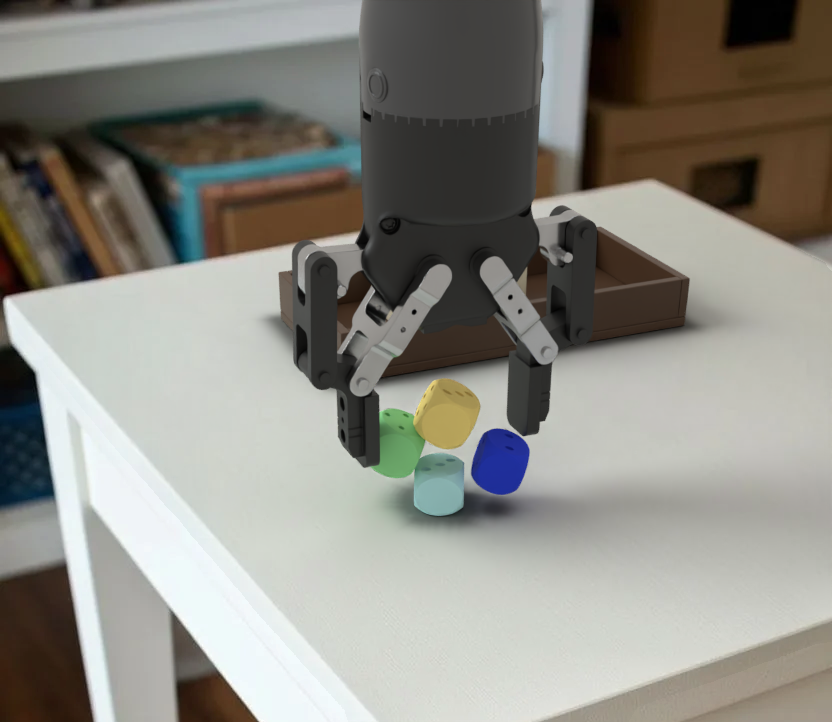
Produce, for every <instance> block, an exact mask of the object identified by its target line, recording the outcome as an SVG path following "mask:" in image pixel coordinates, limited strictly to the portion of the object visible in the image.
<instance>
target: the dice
mask: <svg viewBox="0 0 832 722" xmlns="http://www.w3.org/2000/svg"><path fill="white" fill-rule="evenodd" d="M481 406H482V405H481V402H480V399H479V398H478V396H477V395H476V394H475V393H474V391H472V390H471V389H470V388H468V387H467V386H466V385H465V384H463V383H462V382H459V381H457V380H455V379H451V378H447V377H443V378H437V379H434V380H432V381H431V382H430V384H429V385H428V387H427V388H426V390H425V391H424V393H423V394H422V397H421V399H420V401H419V402H418V406H417V408H416V411H415V414H412V413H410V412H408V411H405V410H403V409H401V408H391V407H390V408H386V409H382V410H381V411H379V417H380V463H379V465H377V466H372V467H370V469H372V470H373V471H375V472H376V473H377V474H380V475H382V476H384V477H386V478H390V479H404V478H406V477H408V476H411V475H412V474H413V472H414V476H413V505H414V507H415V508H416V509H417V510H419V511H420V512H422V513H424V514H426V515H429V516H435V517H437V516H438V517H444V516H449V515H452V514H455V513H458V511H460V510H461V509H462V508H464V502H465V501H464V499H465V461H463V459H461V458H459V457H458V456H457V455H453V454H452V453H445V452H434V453H428V454H425V455H423V456H422V453H423V450H424V448H425V444H426V443H428V444H430V445H432V446H434V447H436V448H439V449H442V450H455V449H458V448H460V447H462V446H463V445H464V444H465V443H466V441H467V440H468V438H469V437H470V435H471V434H472V431H473V429H474V427H475V426H476V423H477V421H478V418H479V415H480V412H481V408H482V407H481ZM530 450H531V449H530V447H529V445H528V442H526V441H525V439H524V438H522V437H521V435H520V434H518V433H515V432H513V431H512V430H508V429H505V428H500V427H499V428H498V427H497V428H491V429H489V430H487V431H485V432H483V433H482V435H481V436H480V439H479V441H478V443H477V445H476V448H475V451H474V454H473V458H472V463H471V468H470V476H471V479H472V480H473V481H474V483H475V484H476V485H477V486H478V487H480V488H481V489H482V490H484V491H485V492H488V493H490V494H493V495H496V496H505V495H511V494H512V493H514V492H517V491H518V489H519V488H520V486H521V484H522V483H523V480H524V477H525V475H526V473H527V470H528V465H529V462H530V454H531V451H530Z"/></svg>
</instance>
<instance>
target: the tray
mask: <svg viewBox="0 0 832 722" xmlns="http://www.w3.org/2000/svg"><path fill="white" fill-rule="evenodd" d="M596 227H597V246H596V268H595V290H594V312H593V332H592V336H591V338H590V340H589V341H588V342H587V343H589V342H595V341H601V340H607V339H613V338H617V337H618V338H619V337H624V336H629V335H635V334H642V333H647V332H653V331H659V330H665V329H669V328H670V329H671V328H678V327H683V326H685V324H686V316H687V308H688V299H689V291H690V290H689V288H690V280H691V278H690V277H688V276H687V275H685V274H683V273H681V272H680V271H678V270H676V269H675V268H673V267H671V266H669V265H668V264H666V263H665V262H662V261H661V260H660V259H657V258H656V257H654V256H652V255H650V254H649V253H647V252H646V251H644V250H642V249H640V248H639V247H637V246H635V245H633V243H630V242H628V241H626V240H625V239H623V238H622V237H620V236H618V235H616V234H614V233H613V232H611V231H609V230H608V229H606V228H604V227H602V226H596ZM370 288H371V284H370V283H369V282H368V281H367V279H366V278H365V277H364V275H363V274H362V273H361V272H360V271H359V272H357V273H355V274H354V275H353V276H352V277H351V279H350V282H349V287H348V290H347V293H346V294H345V295H344V296H343V297H341V298H339V299H337V352H338V350H339V348H340V347H341V345H342V343H343V342H344V340H345V339H346V337H347V335H348V334H349V332H350V330H351V328H352V319H353V316H354V314H355V312H356V310H357V309H358V307H359V306H360V304H361V302H362V301H363V299H364V297H365V296H366V294H367V293H368V291H369V289H370ZM278 289H279V290H278V291H279V307H280V309H279V310H280V319H281V320H282V322H283V323H285V324H286V326H287V327H288V328H289V329H290V330H291V331H292V332H293V299H292V269H290V270H283V271H279V272H278ZM526 297H527V298H528V300H529V301H530V303H531V304H532V305H533V307H534V308H535V310H536V311H537V313H538V314H539V316H540V318H543V317H545V316H546V301H547V260H546V259H544V258H543V257H542V255H541V253H540V247H538V249H537V252H536V253H535V255H534V257H533V258H532V260H531V261H530V263H529V264H528V266H527V283H526ZM387 321H388V320H387V319H386V322H387ZM516 349H517V345H516V344H515V343H514V342H513V341H512V339H511V338H510V337H509V335H508V334H507V332H506V331H505V330H504V328H503V327H502V325H501V324H500V323H499V321H498V320H497V319H496V318H495V317H494V316H491V317H490V318H488V319H487V324H484V325H478V326H472V327H471V326H463V325H454V326H452V327H449V328H447V329H445V330H442V331H440V332H434V333H428V334H423V333H422V332H421V331H420V330H417V331H416V333H415V334H414V336H413V337H412V339H411V341H410V342H409V344H408V345H407V347H406V348H405V350H404V352H403V353H402V354H401V355H400V356H398V357H394V358H393V359H392V360H391V361H390V363H389V365H388V366H387V368H386V369H385V371H384V372H383V374H382V376H381V377H380V379H381V378H387V377H392V376H398V375H404V374H409V373H415V372H421V371H428V370H433V369H439V368H445V367H450V366H455V365H456V366H457V365H461V364H468V363H473V362H480V361H485V360H490V359H491V360H492V359H497V358H501V357H509V351H514V350H516Z"/></svg>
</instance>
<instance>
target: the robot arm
mask: <svg viewBox="0 0 832 722" xmlns="http://www.w3.org/2000/svg"><path fill="white" fill-rule="evenodd" d="M360 7H361V8H360V14H359V15H360V16H359V27H358V29H359V30H358V62H359V63H358V66H359V67H358V69H359V70H358V73H359V116H360V117H359V118H360V119H359V120H360V124H359V128H360V175H361V202H362V212H363V214H362V215H363V218H362V224H361V228H360V230H359V233H358V235H357V237H356V239H355V241H354V243H346V244H336V245H327V246H319V245H317V244H316V243H315V242H314V241H312V240H310V239H303V240H302V239H301V240H300V241H298V242H297V243H296V244H295V245H294V246H293V248H292V252H291V270H292V299H293V331H292V358H293V365H294V366H295V367H296V368H297V369H298V371H300V372H301V373H303V375H304V376H305V377H306V378H307V379H308V381H309V383H310V384H311V385H312V386H313V387H314V388H315V389H316V390H319V391H327V390H329V389H334V390H336V414H337V415H336V416H337V437H338V439H339V442H340V444H341V446H342V447H343V448H344V450H345V451H346V452H347V453H348V454H349V455H350V457H351V458H352V459H355V460H356V461H357V462H358V464H359V465H360V466H361V467H362V468H363V469H365V468H371V467H372V466H377V465H379V463H380V417H379V412H380V394H379V393H378V392H376V390H375V389H374V388H375V387H376V385H377V383H378V382H379V380H380V379H381V378H382V377H381V376H382V374H383V372H384V371H385V369H386V368H387V366H388V365H389V363H390V361H391V360H392V359H393V358H394V357H398V356H400V355H401V354H402V353H403V352H404V350H405V348H406V347H407V345H408V344H409V342H410V341H411V339H412V337H413V336H414V334H415V333H416V331H417V330H420V331H421V332H422V333H423V334H428V333H434V332H440V331H442V330H445V329H447V328H449V327H452V326H454V325H463V326H471V327H472V326H478V325H484V324H487V319H488V318H490V317H491V316H494V317H495V318H496V319H497V320H498V321H499V323H500V324H501V325H502V327H503V328H504V330H505V331H506V332H507V334H508V335H509V337H510V338H511V339H512V341H513V342H514V343H515V344H516V345H517V349H516V350H514V351H509V355H508V370H507V393H506V394H507V395H506V419H507V422H508V424H509V426H510V427H512V428H513V430H515V431H516V432H517V434H518V435H520V436H522V437H529V436H534V435H537V434H539V432H540V426H541V423H543V422H546V421H547V420H546V419H547V417H548V415H549V412H550V405H551V404H550V403H551V401H550V400H551V388H552V371H553V362H554V361H555V360H556V358H557V356H558V354H559V353H560V352H562V351H563V350H565V349H567V348H569V347H570V346H572V345H575V346H578V347H580V346H584V345H586V344H587V343H589V342H588V341H589V340H590V338H591V336H592V332H593V312H594V290H595V268H596V246H597V227H598V226H597V225H596V223H595V222H594V221H593V220H591V219H589V218H587V217H586V216H584V215H582V214H581V213H578V212H577V211H575V210H574V209H572V208H570V207H568V206H566V205H564V204H561V205H558V206H556V207H554V208H553V209H552V210H551V211H550V214H549V215H548V216H544V217H539V218H534V214H533V210H532V205H533V202H534V200H535V197H536V194H537V178H538V177H537V176H538V175H537V173H538V157H539V139H540V138H539V136H540V119H541V117H540V116H541V99H542V97H541V96H542V95H541V94H542V83H543V79H544V74H545V73H544V71H545V69H544V68H545V67H544V61H543V58H544V57H543V56H544V18H543V7H542V0H361V6H360ZM538 247H540V253H541V255H542V257H543V258H544V259H546V260H547V301H546V316H545V317H543V318H540V316H539V314H538V313H537V311H536V310H535V308H534V307H533V305H532V304H531V303H530V301H529V300H528V298H527V297H526V295H525V294H524V292H523V291H522V290H521V288H520V287H519V285H518V284H517V281H518V280H519V278H520V277H521V275H522V274H523V272H524V271H525V269H526V267H527V266H528V264H529V263H530V261H531V260H532V258H533V257H534V255H535V253H536V252H537V249H538ZM359 271H360V272H361V273H362V274H363V275H364V277H365V278H366V279H367V281H368V282H369V283H370V284H371V288H370V289H369V291H368V293H367V294H366V296H365V297H364V299H363V301H362V302H361V304H360V306H359V307H358V309H357V310H356V312H355V314H354V316H353V319H352V328H351V330H350V332H349V334H348V335H347V337H346V339H345V340H344V342H343V343H342V345H341V347H340V348H339V350H338V352H337V299H339V298H341V297H343V296H344V295H345V294H346V293H347V290H348V287H349V282H350V279H351V277H352V276H353V275H354V274H355V273H357V272H359ZM390 310H391V311H392V312H393V313H392V315H391V317H390V318H389V320H388V321H387V322H386V318H387V315H388V313H389V312H390ZM380 377H381V378H380Z"/></svg>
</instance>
